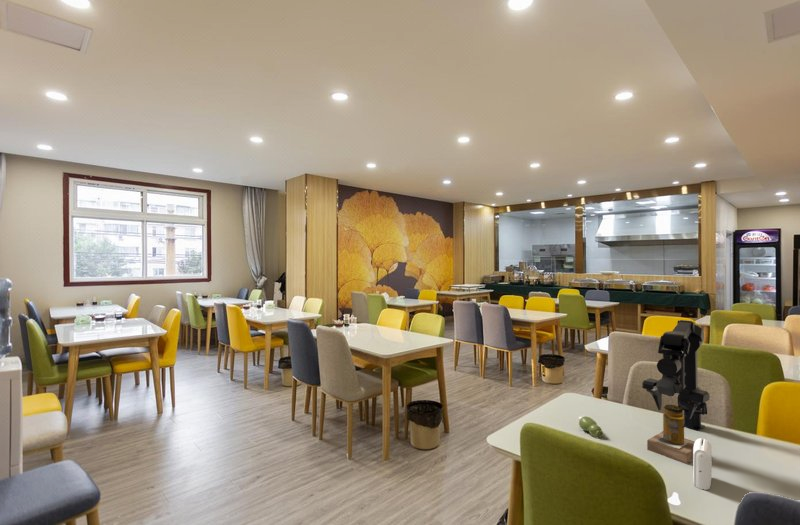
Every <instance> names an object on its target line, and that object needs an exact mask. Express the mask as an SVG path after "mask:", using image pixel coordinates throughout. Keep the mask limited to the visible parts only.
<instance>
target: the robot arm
mask: <svg viewBox="0 0 800 525" xmlns="http://www.w3.org/2000/svg"><path fill="white" fill-rule="evenodd" d="M676 322H677V324H676V325H675V327H674V328H673V329H672V330H671V331H670V330H669V331H665V332H664V333H663V334H662V335H660V338H659V345H658V351H657V353H658V354H661V355H662V358H660V359H659V360H658V362H657V363H656V369H657V370H658V372H659V373H660V375H661V374H662V377H661V378H660V379H655V378H650V377H649V378H648V379H644V380H643V381H642V383H641V384H642V385H641V388H642V389H644V390H645V391H646V392H648V393H650V395H651V396H652V398H653V399H654V403H655V406H656V407H657V410H658V411H661V410H662V406H663V404H662V400H663V399H662V397H663V396H662V395H666V396H668V397H674V395H675V394H678V395H677V406H678V407H681V408H682V409H683V417H684V428H688V429H693V430H695V431H700V430H702V429H704V428H705V425H704V424H702V415H703V416H705V415H708V405H707V403H706V402H708V401H710V393H709V392H708V391H707V390H702V389H700V388H699V385H698V384H699V381H698V380H699V379H698V378H699V377H698V375H699V374H698V350H699V349H700V347H701V346H702V344H703V342H704V341H705V334H704V330H703V328H702V327H700V326H699V325H697V324H695V321H692V320H683V319H680V320H677V321H676Z"/></svg>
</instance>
